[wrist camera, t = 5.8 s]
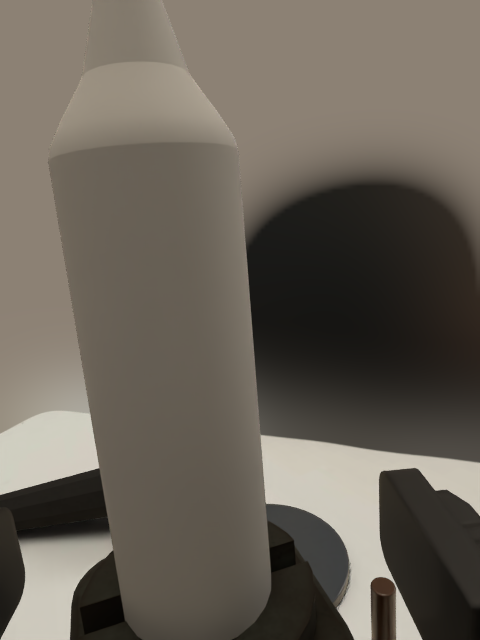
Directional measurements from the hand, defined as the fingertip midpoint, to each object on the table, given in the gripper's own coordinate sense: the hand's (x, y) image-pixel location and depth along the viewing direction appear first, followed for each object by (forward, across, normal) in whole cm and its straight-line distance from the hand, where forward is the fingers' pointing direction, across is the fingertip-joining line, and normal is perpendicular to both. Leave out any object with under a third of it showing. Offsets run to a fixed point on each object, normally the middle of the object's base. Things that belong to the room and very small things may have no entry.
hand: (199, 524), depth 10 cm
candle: (-1, 0, +14) cm, 14 cm away
